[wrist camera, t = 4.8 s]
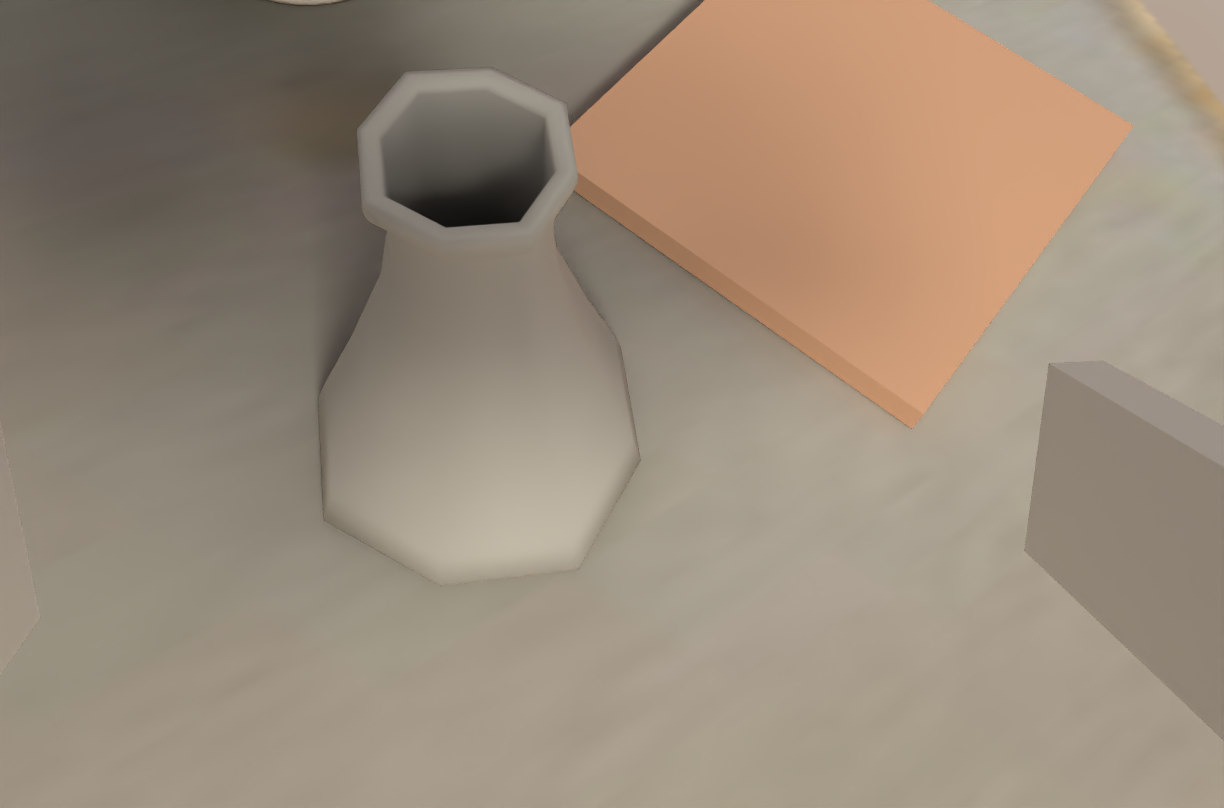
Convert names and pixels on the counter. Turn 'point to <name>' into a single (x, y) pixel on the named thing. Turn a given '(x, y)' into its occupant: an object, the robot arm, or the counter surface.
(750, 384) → the counter surface
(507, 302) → the flask
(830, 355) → the coaster
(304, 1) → the lidded jar
